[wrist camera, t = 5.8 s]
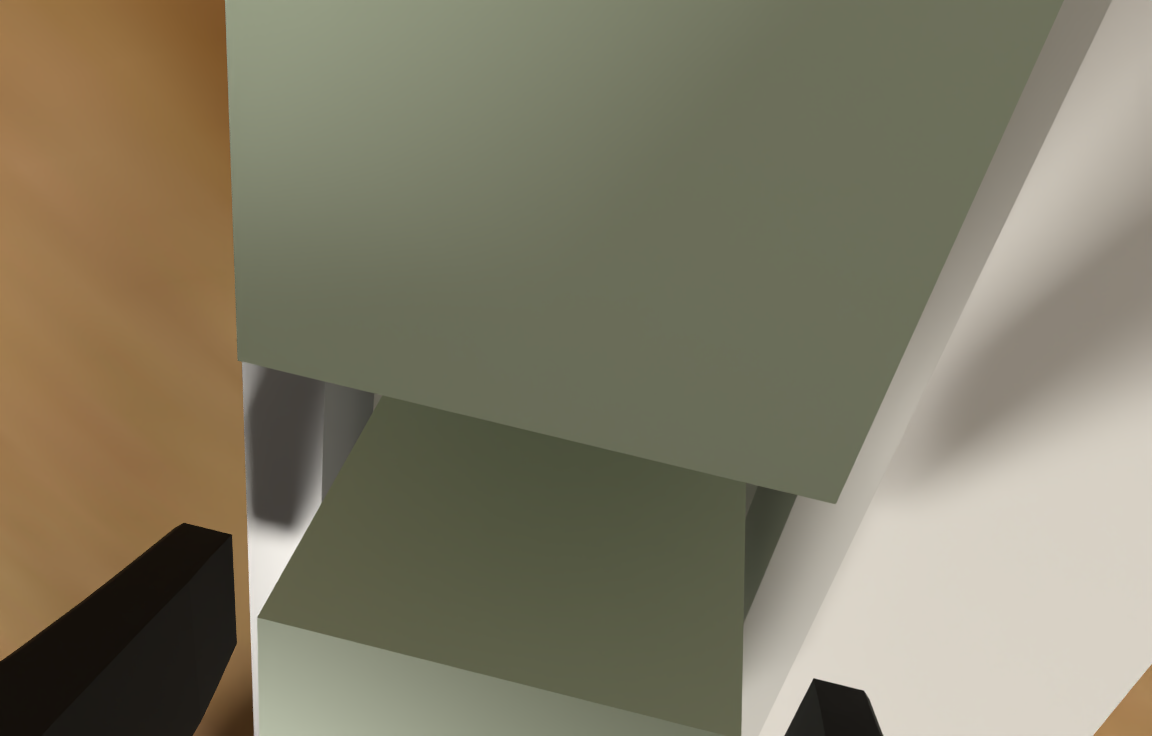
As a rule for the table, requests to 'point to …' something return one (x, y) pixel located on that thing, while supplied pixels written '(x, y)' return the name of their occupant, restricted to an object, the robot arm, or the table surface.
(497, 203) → the faced carton
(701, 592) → the carton
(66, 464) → the table surface
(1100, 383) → the shelf board
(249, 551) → the rail
